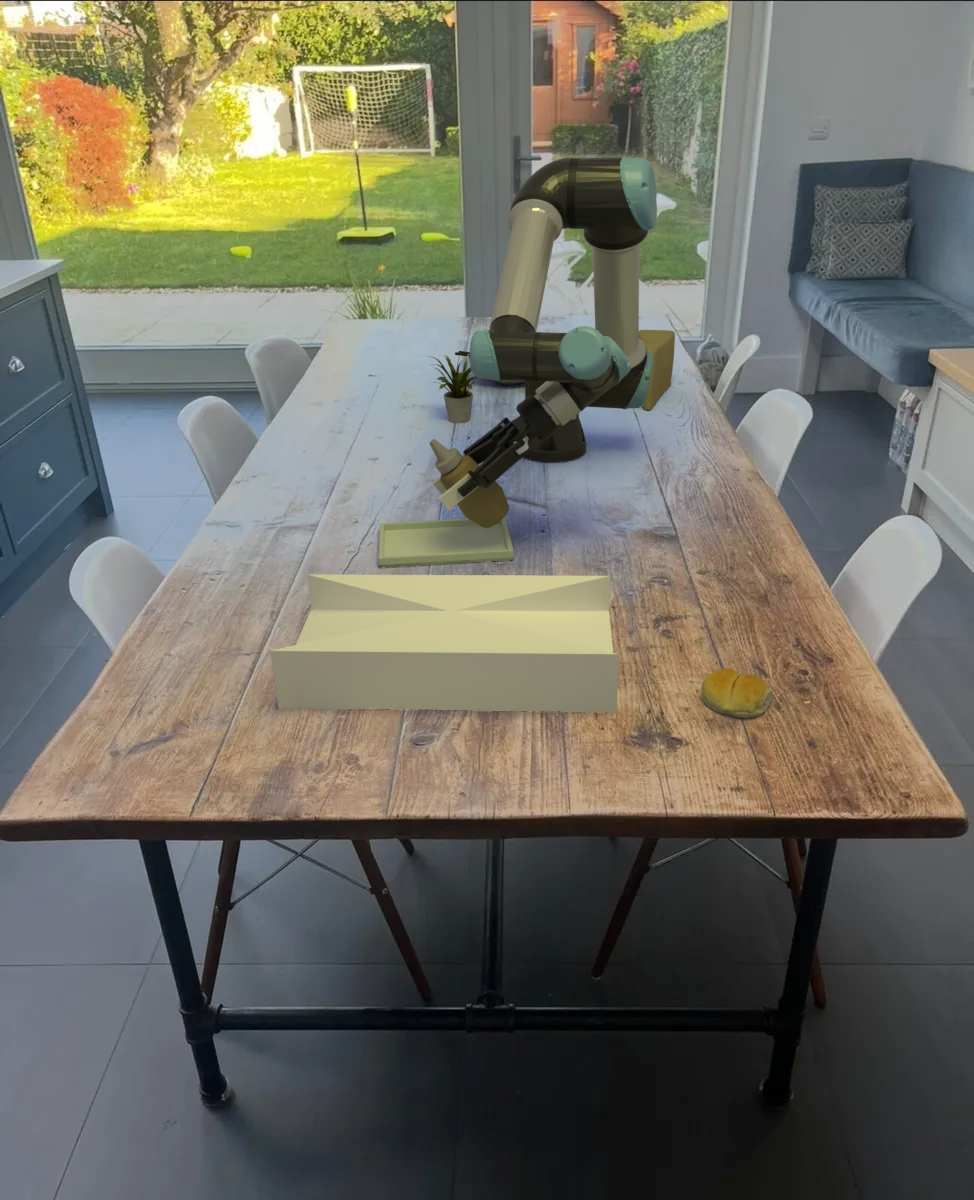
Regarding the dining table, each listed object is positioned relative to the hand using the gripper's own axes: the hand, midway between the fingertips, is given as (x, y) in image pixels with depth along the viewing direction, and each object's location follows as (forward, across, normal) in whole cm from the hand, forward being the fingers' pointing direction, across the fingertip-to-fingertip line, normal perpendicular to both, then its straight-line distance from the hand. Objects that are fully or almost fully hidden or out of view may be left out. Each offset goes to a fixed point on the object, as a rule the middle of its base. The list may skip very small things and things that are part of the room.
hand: (440, 496), depth 170 cm
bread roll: (-18, -54, -28) cm, 64 cm away
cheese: (-47, +77, -46) cm, 101 cm away
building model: (+10, -37, -7) cm, 39 cm away
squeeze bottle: (-5, 0, -10) cm, 11 cm away
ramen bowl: (-22, +101, -27) cm, 107 cm away
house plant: (-5, +73, -16) cm, 75 cm away
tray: (+6, +3, -9) cm, 11 cm away
